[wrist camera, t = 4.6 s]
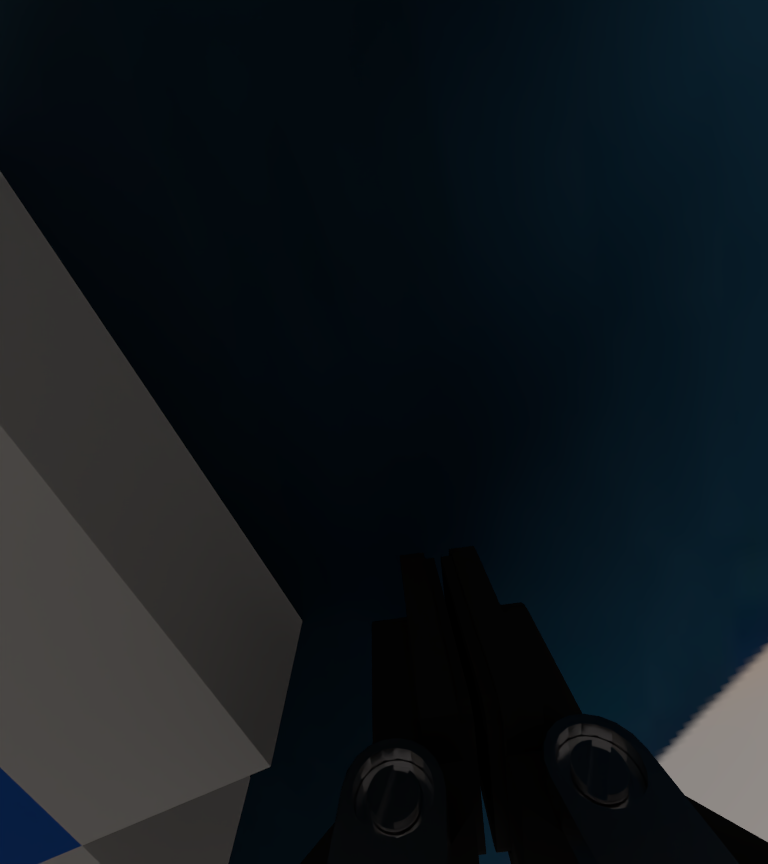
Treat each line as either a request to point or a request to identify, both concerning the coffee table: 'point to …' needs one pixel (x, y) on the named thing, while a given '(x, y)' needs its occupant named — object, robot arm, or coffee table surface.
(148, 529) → the pixel art tile
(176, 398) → the coffee table surface
